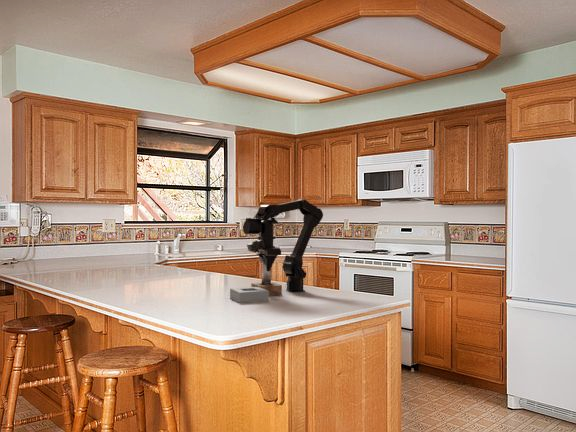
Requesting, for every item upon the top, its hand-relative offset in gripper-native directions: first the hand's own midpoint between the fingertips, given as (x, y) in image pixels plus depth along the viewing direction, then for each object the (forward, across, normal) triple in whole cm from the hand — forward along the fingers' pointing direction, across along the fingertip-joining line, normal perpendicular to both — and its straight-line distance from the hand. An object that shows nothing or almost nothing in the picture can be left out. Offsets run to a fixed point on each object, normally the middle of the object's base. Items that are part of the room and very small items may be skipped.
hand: (266, 270), depth 222 cm
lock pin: (+6, 0, 0) cm, 6 cm away
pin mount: (+10, 0, 0) cm, 10 cm away
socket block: (+10, +12, -12) cm, 20 cm away
